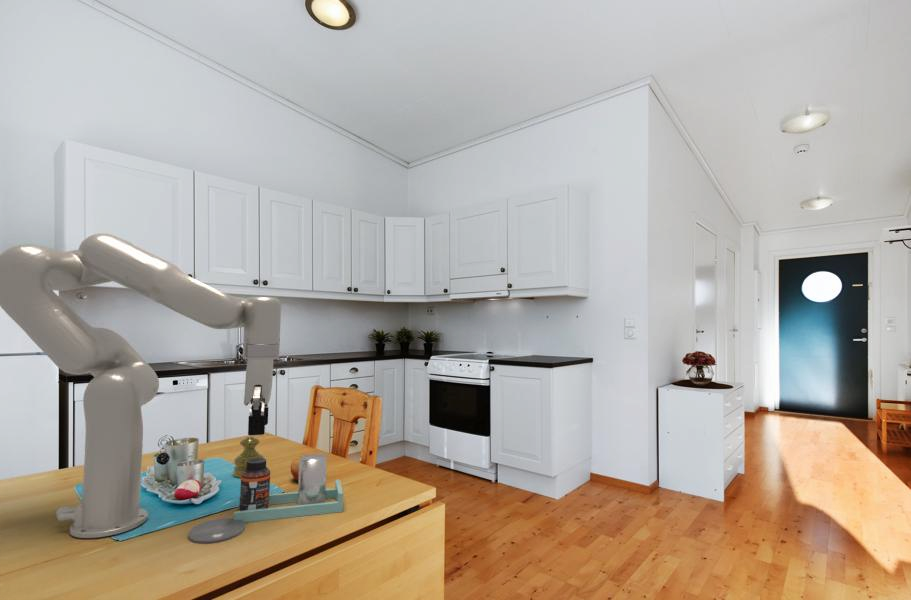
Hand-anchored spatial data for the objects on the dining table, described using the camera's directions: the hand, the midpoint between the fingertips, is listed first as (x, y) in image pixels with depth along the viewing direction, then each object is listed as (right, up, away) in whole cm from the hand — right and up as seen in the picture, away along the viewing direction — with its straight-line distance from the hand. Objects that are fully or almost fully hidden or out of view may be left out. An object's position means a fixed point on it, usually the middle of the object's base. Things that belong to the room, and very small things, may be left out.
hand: (258, 429), depth 102 cm
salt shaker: (-13, -19, +24) cm, 34 cm away
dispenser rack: (+6, -18, +1) cm, 19 cm away
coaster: (-4, -17, -11) cm, 21 cm away
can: (+11, -18, +3) cm, 22 cm away
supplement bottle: (0, -18, -1) cm, 18 cm away
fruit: (+4, -19, +20) cm, 28 cm away
